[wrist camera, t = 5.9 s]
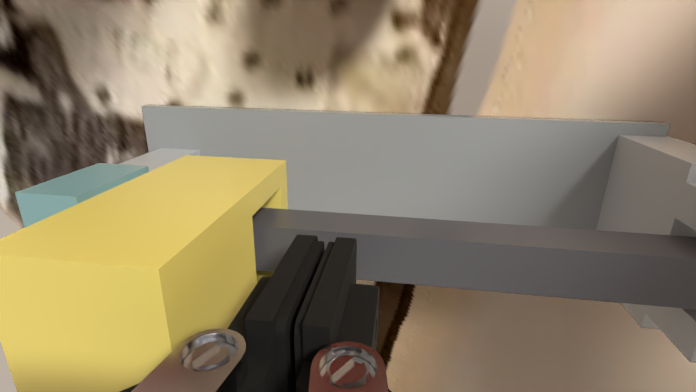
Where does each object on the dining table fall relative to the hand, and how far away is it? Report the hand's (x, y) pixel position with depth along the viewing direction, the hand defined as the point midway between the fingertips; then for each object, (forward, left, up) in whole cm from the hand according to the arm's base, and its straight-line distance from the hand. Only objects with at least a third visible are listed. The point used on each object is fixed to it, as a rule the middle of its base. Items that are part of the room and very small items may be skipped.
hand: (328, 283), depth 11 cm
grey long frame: (-1, 0, -9) cm, 9 cm away
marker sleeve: (+4, 0, -4) cm, 6 cm away
